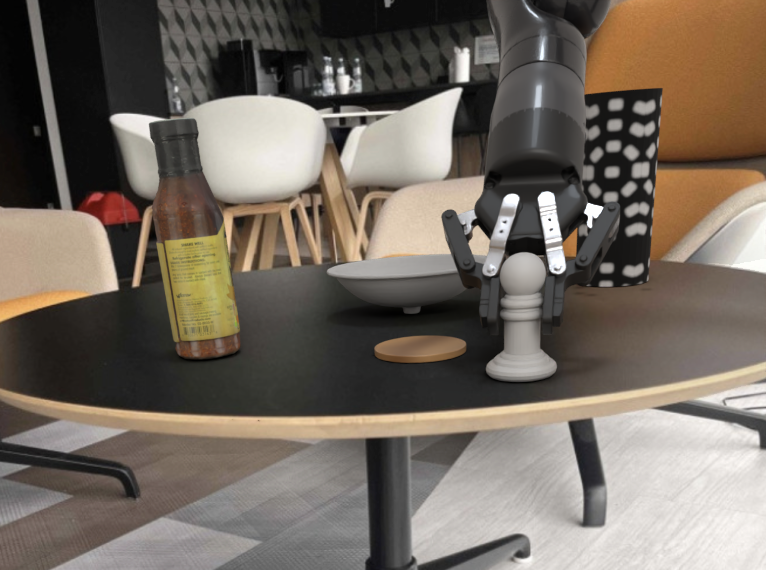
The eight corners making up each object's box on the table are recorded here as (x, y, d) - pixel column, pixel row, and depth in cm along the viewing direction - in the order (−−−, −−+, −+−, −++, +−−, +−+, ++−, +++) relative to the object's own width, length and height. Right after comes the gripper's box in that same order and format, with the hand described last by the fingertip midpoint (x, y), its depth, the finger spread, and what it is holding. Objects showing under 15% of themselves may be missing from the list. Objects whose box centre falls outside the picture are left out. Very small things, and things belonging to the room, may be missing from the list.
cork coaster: (475, 342, 78) (475, 335, 78) (454, 364, 72) (453, 356, 71) (390, 341, 81) (390, 335, 81) (362, 362, 74) (361, 355, 74)
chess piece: (570, 376, 65) (574, 251, 62) (507, 387, 64) (507, 260, 60) (533, 362, 70) (534, 245, 66) (473, 372, 69) (471, 253, 65)
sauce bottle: (256, 351, 81) (229, 114, 73) (202, 365, 77) (168, 117, 69) (213, 343, 86) (183, 120, 77) (160, 357, 82) (123, 123, 73)
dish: (337, 332, 86) (334, 280, 84) (324, 308, 99) (320, 262, 97) (511, 317, 88) (511, 265, 86) (475, 295, 101) (475, 249, 99)
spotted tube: (652, 275, 105) (666, 88, 96) (643, 286, 98) (658, 87, 90) (582, 275, 108) (589, 95, 100) (568, 287, 101) (576, 94, 93)
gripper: (441, 111, 68) (416, 300, 62) (632, 96, 64) (624, 295, 58) (452, 181, 74) (431, 357, 69) (626, 171, 71) (618, 356, 65)
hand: (520, 327), depth 64 cm, fingers closed on chess piece, 3 cm apart
